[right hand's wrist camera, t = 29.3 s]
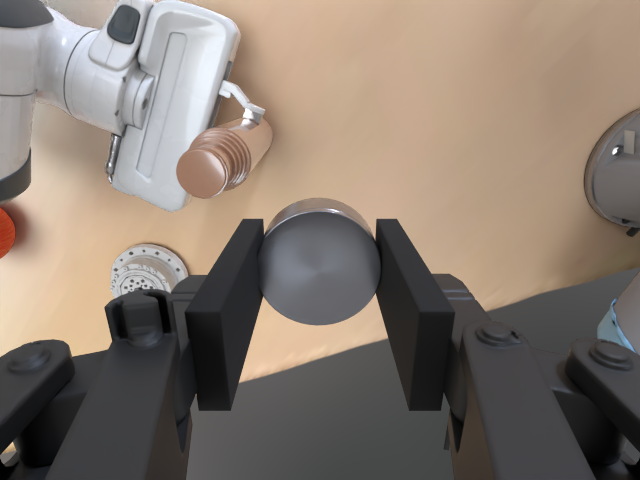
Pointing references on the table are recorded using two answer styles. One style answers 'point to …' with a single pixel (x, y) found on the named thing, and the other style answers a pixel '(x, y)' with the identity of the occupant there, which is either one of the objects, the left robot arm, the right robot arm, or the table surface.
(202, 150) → the wooden furniture leg
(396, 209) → the table surface
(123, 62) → the left robot arm
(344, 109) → the table surface
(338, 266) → the cap
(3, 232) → the apple
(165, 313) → the right robot arm
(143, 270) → the mechanical component
